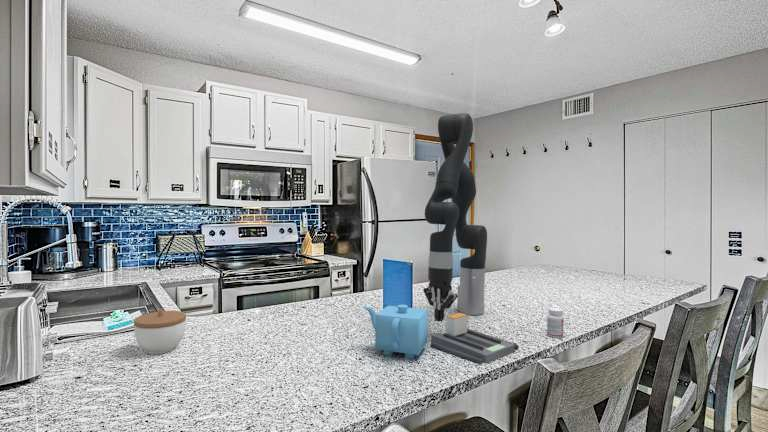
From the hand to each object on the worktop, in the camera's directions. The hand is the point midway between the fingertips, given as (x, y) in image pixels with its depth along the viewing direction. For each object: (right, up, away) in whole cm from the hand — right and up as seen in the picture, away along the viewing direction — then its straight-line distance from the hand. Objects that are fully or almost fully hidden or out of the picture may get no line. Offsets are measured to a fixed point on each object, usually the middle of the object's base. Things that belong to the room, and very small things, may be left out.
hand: (439, 320), depth 125 cm
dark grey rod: (+15, -5, -4) cm, 16 cm away
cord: (+2, -5, -15) cm, 16 cm away
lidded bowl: (-79, -4, -14) cm, 81 cm away
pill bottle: (+37, -5, +1) cm, 37 cm away
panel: (+8, -5, -9) cm, 13 cm away
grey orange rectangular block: (+5, -2, -5) cm, 7 cm away
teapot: (-15, -5, -13) cm, 20 cm away
